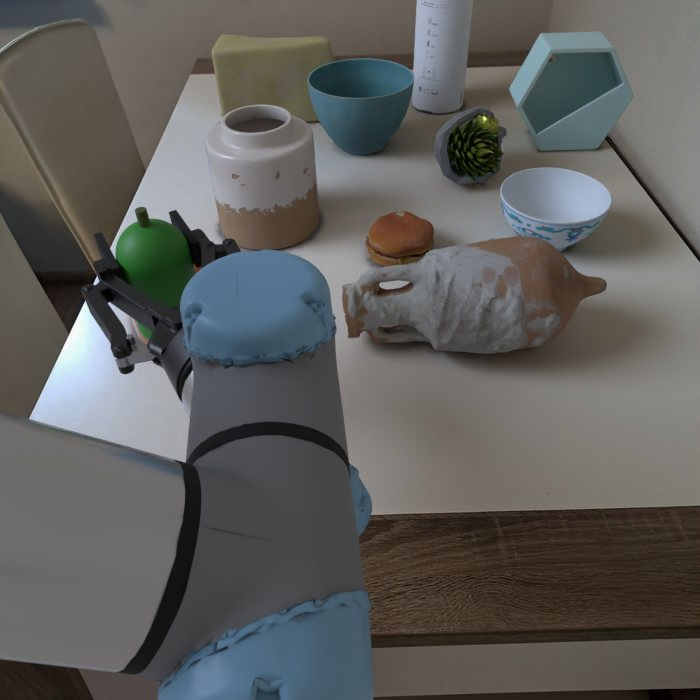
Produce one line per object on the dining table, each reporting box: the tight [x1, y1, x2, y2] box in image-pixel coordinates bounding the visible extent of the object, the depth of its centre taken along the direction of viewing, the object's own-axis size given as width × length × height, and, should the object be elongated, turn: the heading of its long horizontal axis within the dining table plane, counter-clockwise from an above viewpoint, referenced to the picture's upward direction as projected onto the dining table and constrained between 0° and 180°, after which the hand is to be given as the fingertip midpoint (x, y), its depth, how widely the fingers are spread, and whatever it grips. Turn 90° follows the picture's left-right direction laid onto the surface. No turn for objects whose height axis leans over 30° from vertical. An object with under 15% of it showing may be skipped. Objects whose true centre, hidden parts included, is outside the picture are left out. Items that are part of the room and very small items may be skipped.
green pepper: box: [114, 206, 196, 340], centre depth 60 cm, size 7×7×13 cm
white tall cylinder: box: [411, 0, 474, 115], centre depth 121 cm, size 11×10×26 cm
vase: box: [204, 104, 320, 251], centre depth 94 cm, size 15×15×17 cm
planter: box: [508, 30, 635, 152], centre depth 111 cm, size 17×8×21 cm
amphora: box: [341, 236, 608, 354], centre depth 76 cm, size 14×16×30 cm
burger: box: [365, 210, 435, 267], centre depth 92 cm, size 10×9×5 cm
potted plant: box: [433, 106, 508, 186], centre depth 104 cm, size 12×13×15 cm
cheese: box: [211, 33, 335, 123], centre depth 122 cm, size 22×10×15 cm, turn 87°
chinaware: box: [499, 166, 613, 253], centre depth 92 cm, size 15×15×8 cm
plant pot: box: [308, 57, 414, 155], centre depth 114 cm, size 18×18×12 cm
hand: (139, 233), depth 63 cm, fingers closed on green pepper, 7 cm apart
